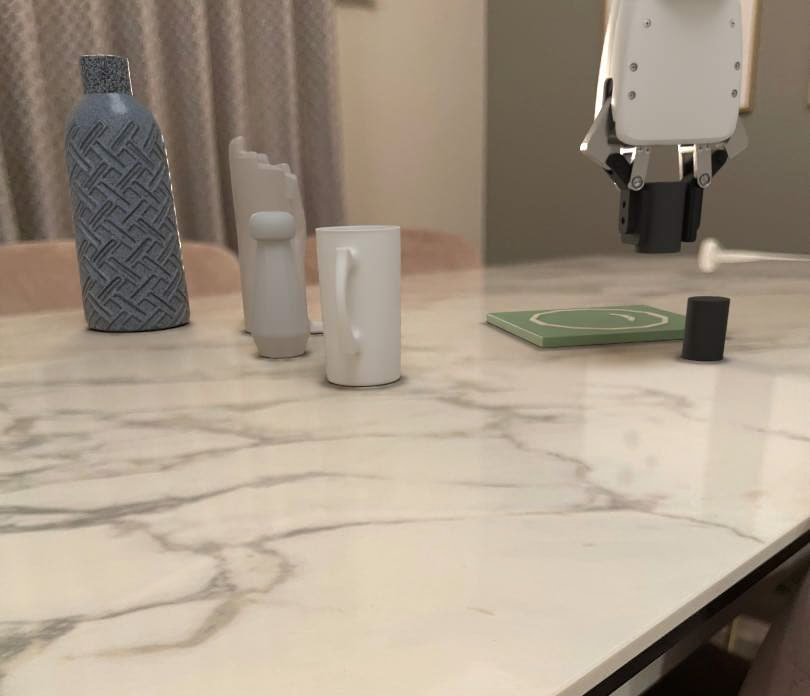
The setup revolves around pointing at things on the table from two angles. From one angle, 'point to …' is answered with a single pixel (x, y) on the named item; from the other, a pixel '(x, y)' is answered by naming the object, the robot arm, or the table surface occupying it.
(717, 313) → the black upright cylinder
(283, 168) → the foot sculpture
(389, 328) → the mug
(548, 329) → the face board
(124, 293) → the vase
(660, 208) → the black upright cylinder
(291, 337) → the salt shaker
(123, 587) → the table surface
